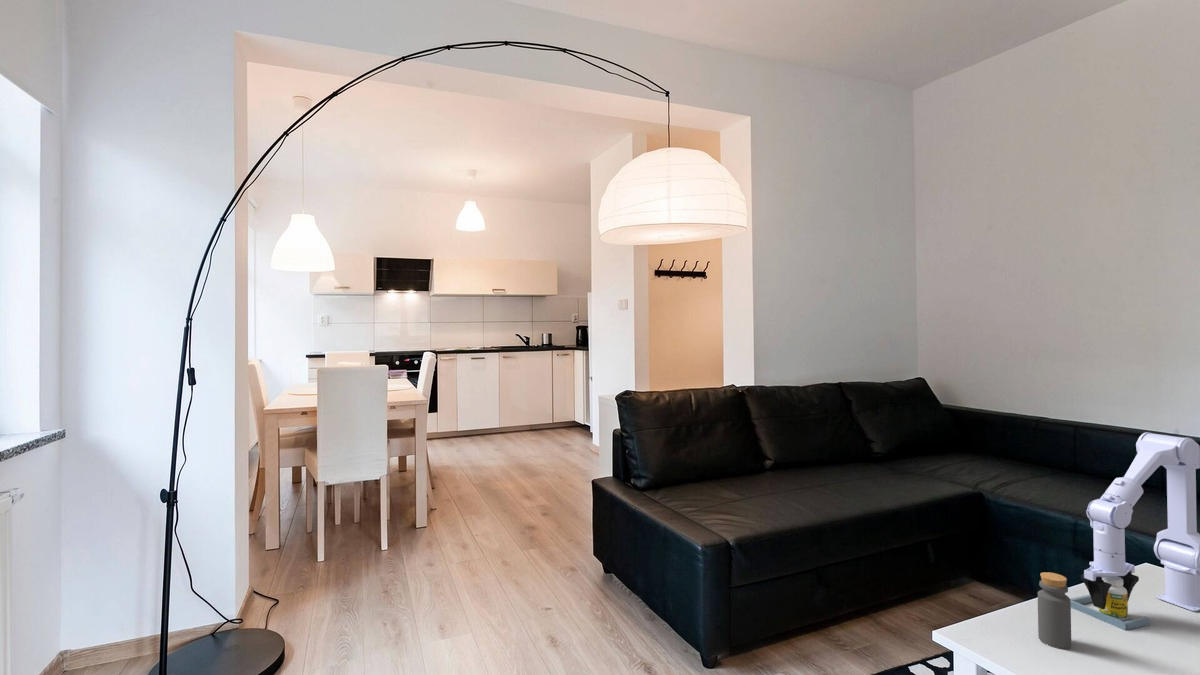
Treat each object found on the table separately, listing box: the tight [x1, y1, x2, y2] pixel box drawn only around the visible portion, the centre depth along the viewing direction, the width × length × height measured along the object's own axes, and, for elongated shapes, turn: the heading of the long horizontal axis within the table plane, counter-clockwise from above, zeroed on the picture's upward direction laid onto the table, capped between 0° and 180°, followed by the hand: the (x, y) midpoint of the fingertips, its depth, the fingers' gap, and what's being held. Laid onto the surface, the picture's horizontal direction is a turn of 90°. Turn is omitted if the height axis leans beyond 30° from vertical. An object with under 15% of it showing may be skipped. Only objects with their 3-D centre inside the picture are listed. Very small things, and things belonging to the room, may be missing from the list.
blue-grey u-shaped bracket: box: [1070, 594, 1151, 631], centre depth 138 cm, size 8×13×2 cm, turn 16°
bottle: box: [1037, 571, 1072, 650], centre depth 127 cm, size 6×6×15 cm
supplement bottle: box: [1098, 576, 1129, 622], centre depth 138 cm, size 5×5×10 cm
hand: (1110, 604), depth 137 cm, fingers open, 7 cm apart
